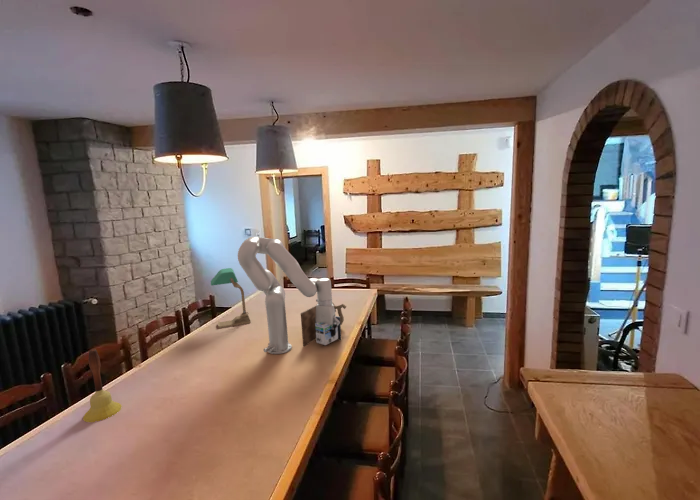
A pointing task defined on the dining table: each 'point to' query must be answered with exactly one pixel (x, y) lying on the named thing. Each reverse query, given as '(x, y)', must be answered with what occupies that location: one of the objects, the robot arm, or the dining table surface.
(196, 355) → the dining table surface
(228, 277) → the banker's lamp
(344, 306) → the tankard
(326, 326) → the light bulb box
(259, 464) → the dining table surface
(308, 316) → the walnut wall
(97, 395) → the handbell
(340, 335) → the bookend
